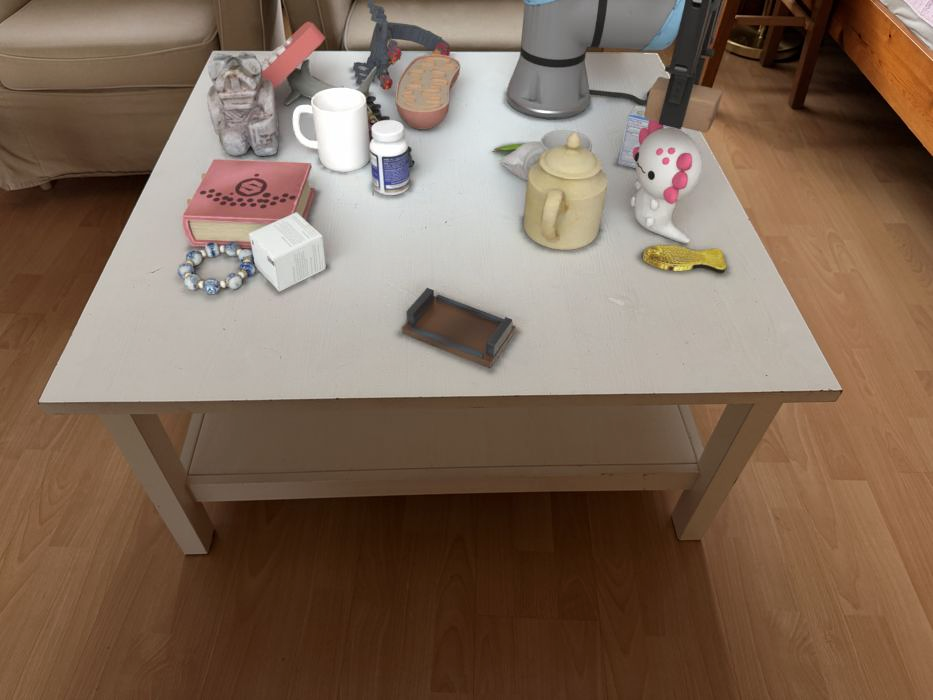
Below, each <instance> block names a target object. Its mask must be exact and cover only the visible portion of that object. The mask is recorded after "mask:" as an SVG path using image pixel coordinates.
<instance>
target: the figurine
mask: <svg viewBox="0 0 933 700" xmlns="http://www.w3.org/2000/svg"><path fill="white" fill-rule="evenodd" d="M207 71H208V75H209V78H210V79H211V82H212V85H211V86H210V87H209V89H208V92H207V96H206V99H207V101H206V103H207V107H208V108H207V109H208V112H209V116H210V120H211V123H212V127H213V130H214V132H215V134H216V135H217V136H218V139H219V143H220V145H221V146H222V148H223V149H224V150H225V153H226V154H229V155H231V156H242V155H245V154H246V153H247V152H248V151H249V149H250V147H251V148H252V150H253V152H254V154H255V155H256V156H258V157H268V156H269V157H270V156H274V155H276V153H277V151H278V148H279V143H278V142H279V141H278V137H279V135H280V129H279V118H278V117H279V115H278V107H277V100H276V94H275V89H274V87H273V85H272V83H271V81H270V80H268V79H264V78H262V65H261V62H260V61H259V60H258V58H257V56H256V54H255V53H252V52H241V53H239V54H238V55H237V56H233V55H232V54H223V53H216V54H214V55H213V56H212V58H211V61H210V62H209V63H208V67H207Z"/></svg>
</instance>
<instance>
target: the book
mask: <svg viewBox="0 0 933 700" xmlns="http://www.w3.org/2000/svg"><path fill="white" fill-rule="evenodd" d="M312 167H313V166H312V162H300V161H299V162H298V161H297V162H296V161H273V160H272V161H271V160H247V159H246V160H244V159H225V158H224V159H220V158H213V160H212V161H211V163H210V164H209V166H208V169H207V170H206V172H205V173H202V174H201V181H200V183H199V185H198V187H197V188H196V190H195V192H194V194H193V196H192V197H191V198H188V199H187V200H186V202H187V207H186V208H185V210H184V212H183V213H182V216H181V225H182V229H183V232H184V235H185V237H186V239H187V240H188V242H189V243H190V245H191V246H192V247H203V248H205V245H206V244H207V243H210V242H215V243H217V244H219V247H220V246H222V245H223V246H225V245H226V244H227V243H229V242H236V243H238V244H239V246H240V248H241V249H252V246H251V241H250V237H249V233H250V232H253V231H255V230H257V229H260V228H262V227H264V226H266V225H269V224H271V223H273V222H276V221H278V220H280V219H282V218H285V217H287V216H289V215H291V214H294V213H296V212H297V213H298V214H299V215H300V216H301V217H303V218H304V219H305V220H306V221H307V218H308V217H309V213H310V210H311V207H312V204H313V202H314V198H315V196H316V193H317V191H316V187H310V184H309V179H308V178H309V176H310V174H311V170H312Z"/></svg>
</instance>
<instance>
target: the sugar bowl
mask: <svg viewBox="0 0 933 700" xmlns="http://www.w3.org/2000/svg"><path fill="white" fill-rule="evenodd" d="M576 132H577V131H574V132H573V133H572V134H570V136H569V137H568V138H567V140H566V145H560V146H557V147H554V148H551V149H549V150H547V151H545V152H544V153H543V154H542V155H541V156H540V160H539V162H537V163H536V164H534V165H533V166H532V167H531V169H530V170H529V173H528V180H526V188H525V198H524V199H525V200H524V212H523V229H524V232H525V233H526V235H527V236H528V237H529V239H531V240H533V242H535V243H537V244H538V245H541V246H543V247H545V248H548V249H553V250H561V251H562V250H563V251H569V250H577V249H581V248H584V247H586V246H588V245H589V244H591V243H592V242H594V241H595V239H596V238H597V237H598V234H599V230H600V226H601V220H602V217H603V213H604V207H605V203H606V196H607V191H608V186H609V185H608V184H609V179H608V176H607V174H606V172H605V171H604V170H603V169H602V167H603V164H602V161H601V159H600V158H599V157H598V156H597V154H595V153H594V152H592V151H591V152H590V151H589V150H587V149H585V148H583V147H580V145H581V140H580V137H579V135H578V134H577V133H576Z"/></svg>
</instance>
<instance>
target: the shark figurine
mask: <svg viewBox="0 0 933 700" xmlns="http://www.w3.org/2000/svg"><path fill="white" fill-rule="evenodd" d="M310 69H311V68H310V59H307V58H306V59H305V60H304V61H303V62H302V63H301V64H300V68H299V67H297V68H296V69H295V70H294V71H293V72H292V73H291V74H290V75H289V76H288V77H286V82H287V83H288V86H289V88H290V89H291V90H292V91H291V92H290V93H289V95H288V96H286V98H285V99H284V104H285V105H287V106H288V105H290V103H292V102H294V101H295V100H297V99H298V98H299V97H300V96H303V97H306V98H310V99H312V97H313V96H314V95H315V94H317V93H318V92H320V91H323V90H326V89H331V88H345V87H344V86H343V85H341V86H338V87H337V86H334V85H331V84H328V83H326V82H324V81H322V80H321V79H319V78H317V77H315V76H314V75H312V73H311V70H310ZM375 72H376V67H374V68H373V70H372V71H371V72H370V74H369V75H366V76H367V78H366V79H365V80H363V81H362V83H360V85H359V87H358V88H355V90H357V91H360V92H361V93H363V94H364V95H365V97H367V96H369V95H370V88H371V84H372V82H373V81H372V80H373V77H374V75H375Z"/></svg>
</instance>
